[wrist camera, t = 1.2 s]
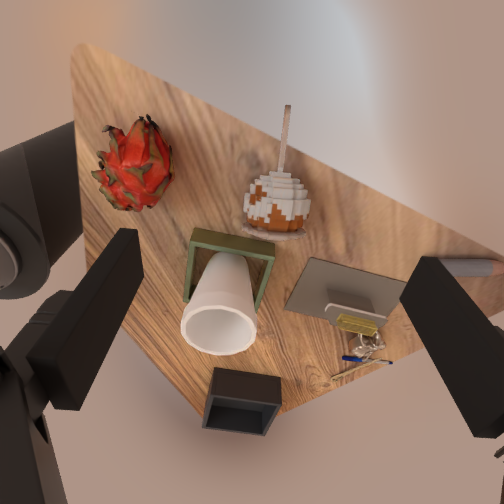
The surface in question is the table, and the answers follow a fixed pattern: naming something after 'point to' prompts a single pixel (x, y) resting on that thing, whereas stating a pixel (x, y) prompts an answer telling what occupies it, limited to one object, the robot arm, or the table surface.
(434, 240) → the table surface
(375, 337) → the ornament
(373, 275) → the platform
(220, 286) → the foam cup
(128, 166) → the dragon fruit
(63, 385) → the robot arm
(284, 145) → the caramel apple
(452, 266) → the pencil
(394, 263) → the table surface
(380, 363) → the ballpoint pen
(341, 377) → the tool
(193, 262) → the olive square frame
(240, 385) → the dark grey square tray
